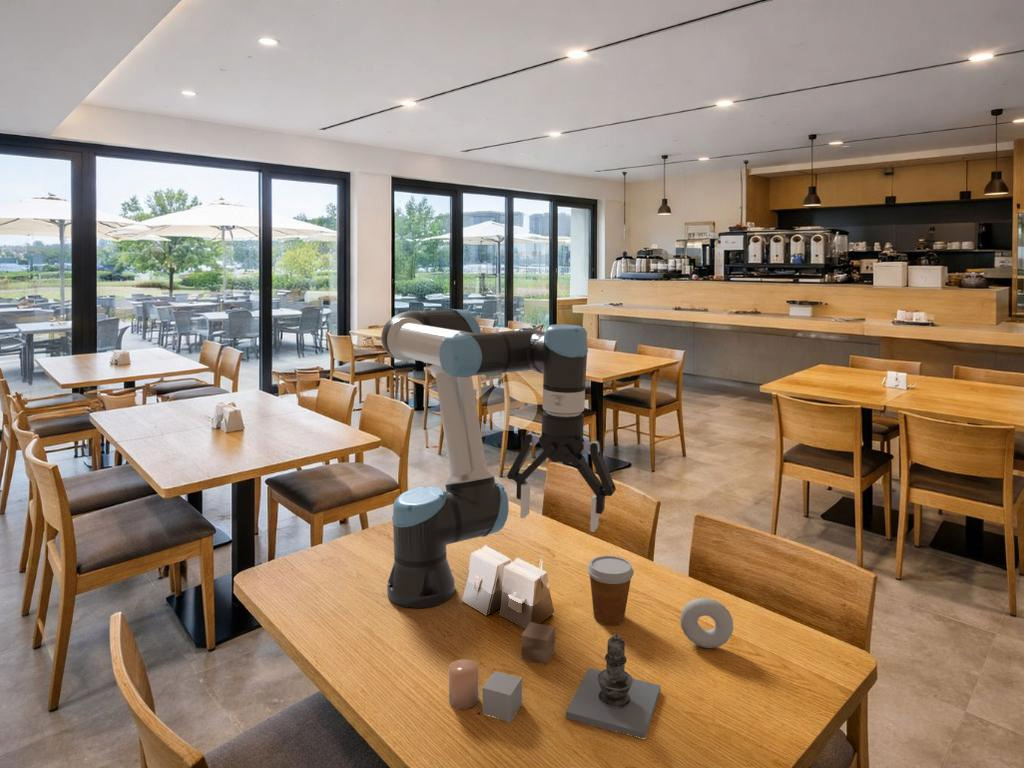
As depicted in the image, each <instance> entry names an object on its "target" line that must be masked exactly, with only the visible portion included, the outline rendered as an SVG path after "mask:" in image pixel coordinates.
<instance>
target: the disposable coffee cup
mask: <svg viewBox="0 0 1024 768" xmlns="http://www.w3.org/2000/svg"><path fill="white" fill-rule="evenodd" d="M587 572H588V573H587V574H588V575H589V582H590V589H591V590H590V591H591V601H592V611H593V618H594V620H595V621H596V622H598V623H599V624H602V625H606V626H616V625H619V624H622V623H624V620H625V615H626V611H627V610H626V608H627V603H628V598H629V592H630V586H631V580H632V579H633V576H634V569H633V567H632V564H631V562H630V560H628V559H625V558H624V557H620V556H616V555H600V556H599V555H598V556H595V557H594V558H592V559H591V560H590V562H589V564H588V566H587Z"/></svg>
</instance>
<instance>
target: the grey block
mask: <svg viewBox="0 0 1024 768" xmlns="http://www.w3.org/2000/svg"><path fill="white" fill-rule="evenodd" d="M521 704H523V677H520V676H517V675H514V674H508V673H506V672H505V673H504V672H501V671H497V670H494V671H493V673H491V675H490V677H489V678H488V679H487V680H486V682H485V683H484V685H483V686H482V715H483V714H486V715H490V716H494V717H496V718H495V719H497V718H499V719H498V720H500V719H501V720H500V721H504V720H505V722H507V721H508V722H507V723H511V722H512V721H513V719H514V718H513V717H515V716H516V715H517V713H518V711H519V709H520V708H521V706H522V705H521ZM516 712H517V713H516ZM486 715H485V716H486ZM490 716H489V717H490Z"/></svg>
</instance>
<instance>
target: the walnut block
mask: <svg viewBox="0 0 1024 768" xmlns="http://www.w3.org/2000/svg"><path fill="white" fill-rule="evenodd" d="M520 638H521V639H520V641H521V642H520V643H521V646H520V647H521V649H520V651H521V653H520V659H521V660H524V661H527V662H531V663H532V662H533V663H537V664H541V665H545V666H547V665H548V663H549V662H550V660H551V658H552V656H553V655H554V653H555V652H556V651H555V650H556V627H555V626H550V625H546V624H541V623H537V622H533V621H530V622H529V624H528V625H527V627H526V628H525V629H524V631H523V632H522V633H521V637H520Z"/></svg>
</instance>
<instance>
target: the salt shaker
mask: <svg viewBox="0 0 1024 768" xmlns="http://www.w3.org/2000/svg"><path fill="white" fill-rule="evenodd" d="M606 648H607V653H606V654H605V655H604V660H605V661H606V664H605V665H606V668H605V669H602V670H600V671H601V672H600V673H599V674H598V677H597V679H598V682H599V685H600V687H601V690H602V691H601V692H600V693H599V700H600V702H601V703H602V704H604V705H606V706H608V707H611V708H623V707H625V706H627V705H628V704H629V702H630V696H629V695H628V691H629V689H630V687H631V685H632V683H633V680H632V678H633V677H632V676H631V674H629V673H628V672H627V671H625V666H626V663H627V660H628V659H627V657H626V655H625V653H626V652H625V651H626V643H625V640H624V639H623V638H622V637H621V636H619V634H618V633H617V632H615V634H614V636H611V637H609V639H607V647H606Z"/></svg>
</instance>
